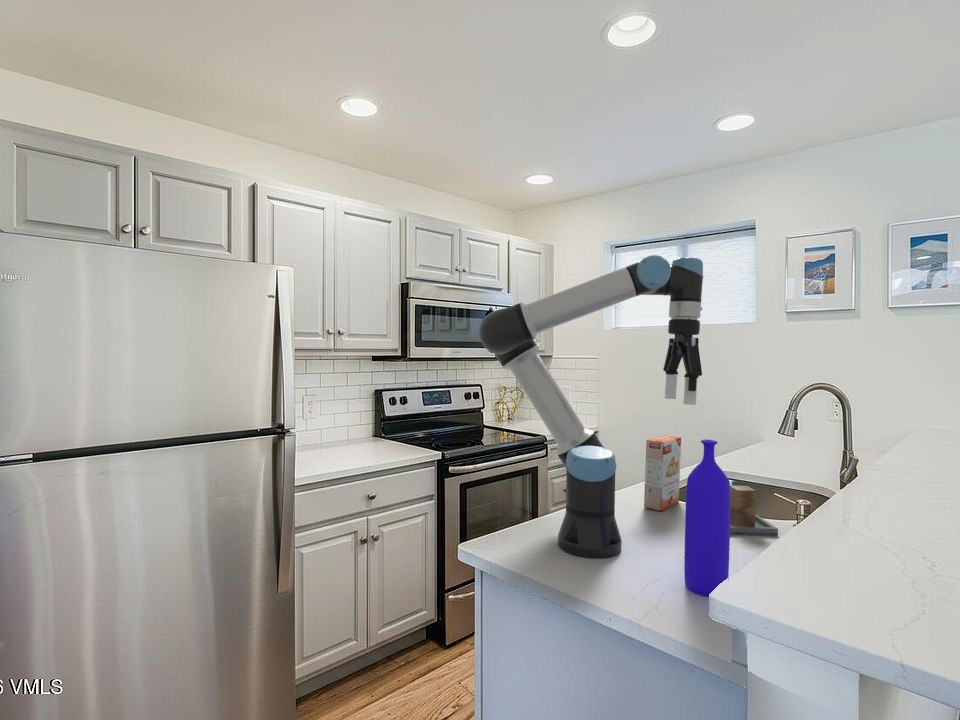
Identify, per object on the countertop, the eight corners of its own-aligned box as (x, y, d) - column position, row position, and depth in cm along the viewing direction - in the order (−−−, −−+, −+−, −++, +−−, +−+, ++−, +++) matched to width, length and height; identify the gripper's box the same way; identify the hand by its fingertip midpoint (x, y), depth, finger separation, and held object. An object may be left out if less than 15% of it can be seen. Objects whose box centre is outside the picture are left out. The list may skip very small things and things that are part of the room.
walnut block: (735, 527, 142) (736, 490, 142) (728, 521, 147) (729, 485, 146) (754, 527, 141) (755, 490, 141) (746, 521, 146) (747, 485, 146)
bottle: (682, 577, 112) (685, 435, 111) (724, 582, 109) (728, 438, 108) (685, 594, 104) (688, 442, 103) (731, 601, 101) (735, 445, 100)
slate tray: (726, 534, 138) (727, 527, 138) (707, 518, 151) (708, 511, 151) (777, 535, 137) (778, 528, 137) (754, 519, 150) (754, 513, 150)
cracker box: (662, 512, 156) (664, 442, 155) (643, 508, 160) (644, 439, 159) (680, 502, 166) (682, 436, 166) (662, 498, 170) (663, 434, 170)
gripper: (720, 317, 123) (714, 407, 124) (681, 321, 148) (676, 397, 149) (688, 315, 123) (682, 406, 124) (654, 320, 148) (650, 395, 149)
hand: (679, 401), depth 136 cm, fingers open, 13 cm apart
